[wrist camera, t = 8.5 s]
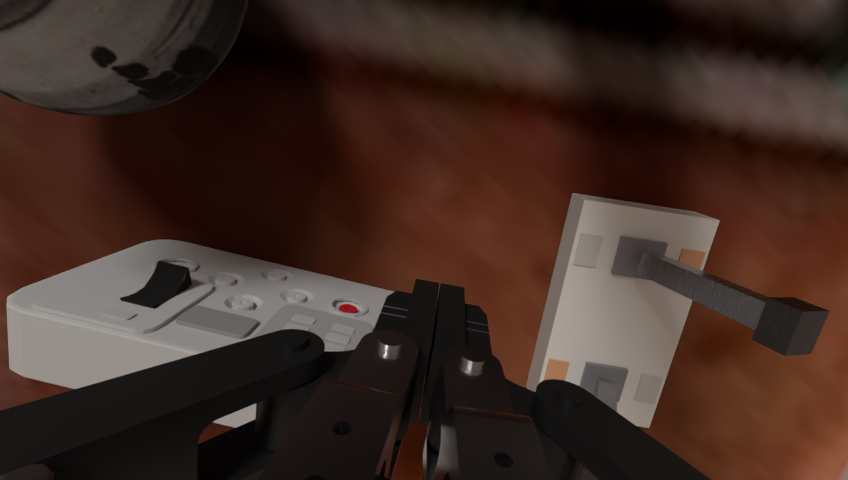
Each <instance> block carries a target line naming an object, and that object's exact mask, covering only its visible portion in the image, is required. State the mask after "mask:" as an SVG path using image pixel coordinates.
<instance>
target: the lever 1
mask: <svg viewBox="0 0 848 480" xmlns="http://www.w3.org/2000/svg"><path fill="white" fill-rule="evenodd" d="M594 396H595V397H597V398H598V399H599V400H601V401H602V402H604V403H605V404H606V405H608V406H609V407H611V408H612V409H613V410H615V411H616V412H617V383H615V382H612V381H609V380H606V379H603V378H600V377H599V379H598V382H597V386H596V389H595V392H594ZM580 480H599V479H597V478H596V477H595V476H594V475H593V474H592V473H591V472H590V471H588V470H587V469H586V468H584V471H583V473H582V476H581V479H580Z"/></svg>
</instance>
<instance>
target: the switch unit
mask: <svg viewBox="0 0 848 480" xmlns="http://www.w3.org/2000/svg"><path fill="white" fill-rule="evenodd" d="M719 221H720V220H717V219H714V218H712V217H709V216H706V215H703V214H700V213H697V212H694V211H688V210H681V209H675V208H668V207H662V206H655V205H648V204H642V203H635V202H629V201H622V200H616V199H609V198H603V197H596V196H590V195H583V194H576V193H572V196H571V200H570V204H569V209H568V213H567V217H566V221H565V225H564V229H563V234H562V238H561V242H560V246H559V250H558V254H557V259H556V263H555V267H554V271H553V275H552V279H551V284H550V288H549V292H548V296H547V300H546V304H545V309H544V313H543V317H542V321H541V325H540V329H539V334H538V338H537V342H536V346H535V350H534V355H533V359H532V363H531V367H530V371H529V375H528V380H527V384H526V388H527V389H529V390H531V391H534V392H536V388H537V386H538V384H539V383H540V382H542V381H544V380H548V379H558V380H564V381H568V382H571V383H573V384H576V385H578V386H580V387H582V388H584V389H585V390H587V391H588V392H590V393H591V394H592V395H594V392H595V389H596V386H597V382H598V379H599V377H600V378H603V379H606V380H609V381H612V382H615V383H617V413H619V414H620V415H622V416H623V417H624V418H626V419H627V420H629V421H630V422H631V423H633V424H634V425H635V426H639V427H645V428H649V427H650V424H651V421H652V418H653V415H654V412H655V410H656V407H657V404H658V401H659V398H660V395H661V392H662V389H663V386H664V383H665V380H666V377H667V374H668V371H669V368H670V365H671V362H672V360H673V357H674V354H675V351H676V348H677V345H678V342H679V339H680V336H681V333H682V330H683V327H684V324H685V321H686V318H687V315H688V312H689V310H690V307H691V304H692V301H693V300H691V299H689V298H687V297H685V296H683V295H681V294H679V293H677V292H674V291H672V290H670V289H668V288H666V287H664V286H662V285H660V284H658V283H656V282H654V281H652V280H649V279H647V278H645V277H643V276H641V275H639V274H637V271H638V268H639V264H640V261H641V258H642V254H643V252H655V253H659V254H662V255H664V256H667V257H669V258H672V259H674V260H677V261H679V262H682V263H684V264H687V265H689V266H692V267H694V268H697V269H699V270H702V271H703V268H704V265H705V262H706V260H707V257H708V254H709V251H710V248H711V245H712V242H713V239H714V236H715V233H716V230H717V227H718V224H719Z"/></svg>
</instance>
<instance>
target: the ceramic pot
mask: <svg viewBox="0 0 848 480" xmlns="http://www.w3.org/2000/svg"><path fill="white" fill-rule="evenodd" d="M248 2H249V0H0V93H1V94H4V95H6V96H8V97H10V98H13V99H16V100H19V101H22V102H25V103H28V104H31V105H34V106H37V107H40V108H43V109H48V110H53V111H57V112H62V113H66V114H76V115H88V116H103V115H122V114H132V113H138V112H143V111H147V110H151V109H154V108H157V107H160V106H163V105H166V104H169V103H172V102H174V101H176V100H178V99H180V98H182V97H184V96H185V95H187V94H188V93H190V92H191V91H193V90H194V89H196V88H197V87H199V86H200V85H201V84H202V83H203V82H204V81H205V80H206V79H208V78H209V77H210V76H211V75H212V73H213V72H214V71H215V70H216V69H217V67H218V66H219V65H220V64H221V63H222V61H223V60H224V59H225V57H226V56H227V54H228V53H229V51H230V49H231V48H232V46H233V44H234V43H235V40H236V38H237V36H238V34H239V31H240V28H241V26H242V23H243V19H244V16H245V13H246V10H247V6H248Z"/></svg>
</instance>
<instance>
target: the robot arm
mask: <svg viewBox="0 0 848 480" xmlns="http://www.w3.org/2000/svg"><path fill="white" fill-rule="evenodd" d="M438 288H439V283H436V282H431V281H425V280H420V279H416V281H415V285H414V289H413V293H412V294H411V293H406V292H400V291H395V292H394V293H392V294H390V295H389V296H387V297H386V300H385V302H384V305H383V307H382V310H381V313H380V315H379V317H378V320H377V322H376V325H375V327H374V330H373V332H370V333H368V334H366V335H365V336H363V337H362V339H361V340H360V342H359V343H358V345H357V347H356V348H355V349H353V350H349V351H324V350H325V344H324V341H323V340H322V338H320V337H319V336H318V335H316V334H314V333H312V332H309V331H306V330H300V329H284V330H279V331H275V332H271V333H268V334H265V335H261V336H258V337H254V338H251V339H247V340H244V341H240V342H237V343H233V344H230V345H226V346H223V347H220V348H216V349H213V350H209V351H206V352H202V353H199V354H195V355H192V356H188V357H185V358H182V359H178V360H175V361H171V362H168V363H164V364H161V365H157V366H154V367H150V368H147V369H144V370H140V371H137V372H133V373H130V374H126V375H123V376H119V377H116V378H112V379H109V380H105V381H102V382H99V383H95V384H92V385H88V386H85V387H81V388H78V389H74V390H71V391H67V392H64V393H61V394H57V395H54V396H50V397H47V398H43V399H40V400H36V401H33V402H29V403H26V404H23V405H19V406H16V407H12V408H9V409H5V410H2V411H0V480H392V479H393V475H394V472H395V468H396V464H397V461H398V457H399V454H400V450H401V446H402V440H403V437H404V436H405V434H406V432H407V429H408V424H409V422H412V423H416V421H417V416H418V410H419V405H420V400H421V395H422V390H423V395H422V403H421V410H420V418H419V424H423V425H428V428H427V435H426V440H425V445H424V450H423V480H580V479H581V476H582V473H583V471H584V468H586V469H587V470H588V471H590V472H591V473H592V474H593V475H594V476H595V477H596V478H597V479H599V480H710V479H709V478H708V477H706V476H705V475H703V474H702V473H701V472H699V471H698V470H696V469H695V468H694V467H692V466H691V465H690V464H688V463H687V462H685V461H684V460H683V459H681V458H680V457H678V456H677V455H676V454H674V453H673V452H671V451H670V450H669V449H667V448H666V447H665V446H663V445H662V444H660V443H659V442H658V441H656V440H655V439H653V438H652V437H651V436H649V435H648V434H647V433H645V432H644V431H642V430H641V429H640V428H638V427H637V426H635V425H634V424H633V423H631V422H630V421H629V420H627V419H626V418H624V417H623V416H622V415H620V414H619V413H617V412H616V411H615V410H613V409H612V408H611V407H609V406H608V405H606V404H605V403H604V402H602V401H601V400H599V399H598V398H597V397H595V396H594V395H592V394H591V393H590V392H588V391H587V390H585V389H584V388H582V387H580V386H578V385H576V384H573V383H571V382H568V381H564V380H558V379H548V380H544V381H542V382H540V383H539V384H538V386H537V388H536V392H534V391H531V390H529V389H526V388H524V387H521V386H519V385H517V384H514V383H513V382H511V381H509V380H508V379H506V378H505V376H504V373H503V369H502V366H501V363H500V362H499V360H498V359H497V358H496V357H495V356H493V355H492V351H491V344H490V337H489V329H488V322H487V315H486V314H485V313H484V312H483V310H482V309H481V308H480V307H479V306H476V305H470V304H465V298H464V288H463V287H458V286H453V285H447V284H442V283H441V286H440V290H439V296H438ZM437 296H438V301H437ZM436 304H437V306H436ZM424 379H425V380H424ZM423 385H424V388H423ZM253 404H256V417H255V420H253V421H250V422H248V423H246V424H243V425H241V426H239V427H237V428H234V429H232V430H230V431H227V432H225V433H223V434H221V435H218V436H216V437H214V438H211V439H209V440H207V441H205V442H202V443H200V444H198V439H199V437H200V435H201V433H202V432H203V430H204V429H205V428H206V427H207V426H208V425H209V424H211V423H212V422H214V421H215V420H217V419H219V418H222V417H224V416H227V415H229V414H231V413H234V412H236V411H239V410H241V409H244V408H246V407H249V406H251V405H253Z"/></svg>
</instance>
